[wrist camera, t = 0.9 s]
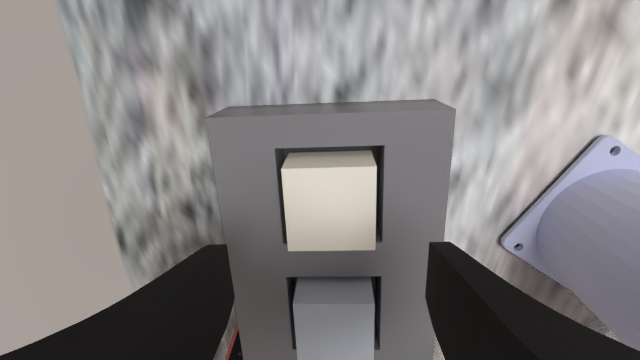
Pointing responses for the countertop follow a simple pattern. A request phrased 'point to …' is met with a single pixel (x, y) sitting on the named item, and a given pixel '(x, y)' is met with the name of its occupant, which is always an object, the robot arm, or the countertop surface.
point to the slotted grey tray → (381, 264)
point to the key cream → (330, 200)
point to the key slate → (334, 318)
